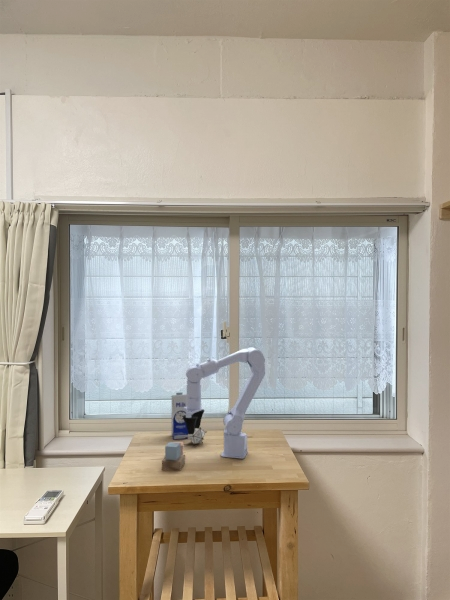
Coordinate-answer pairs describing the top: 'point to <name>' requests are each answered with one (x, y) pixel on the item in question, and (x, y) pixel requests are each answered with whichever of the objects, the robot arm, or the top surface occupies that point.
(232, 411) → the robot arm
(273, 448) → the top surface
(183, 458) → the walnut base
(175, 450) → the slate block
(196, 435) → the game die
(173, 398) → the milk carton
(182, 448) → the terracotta block
